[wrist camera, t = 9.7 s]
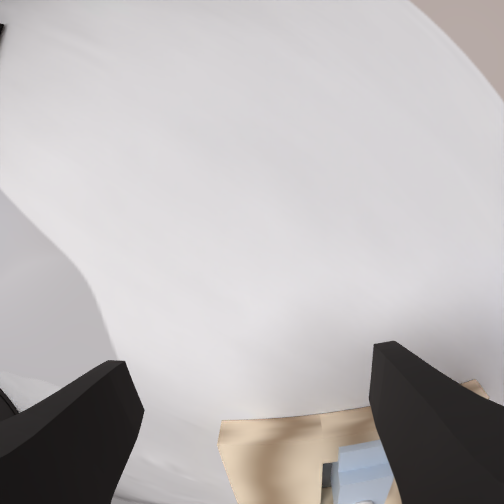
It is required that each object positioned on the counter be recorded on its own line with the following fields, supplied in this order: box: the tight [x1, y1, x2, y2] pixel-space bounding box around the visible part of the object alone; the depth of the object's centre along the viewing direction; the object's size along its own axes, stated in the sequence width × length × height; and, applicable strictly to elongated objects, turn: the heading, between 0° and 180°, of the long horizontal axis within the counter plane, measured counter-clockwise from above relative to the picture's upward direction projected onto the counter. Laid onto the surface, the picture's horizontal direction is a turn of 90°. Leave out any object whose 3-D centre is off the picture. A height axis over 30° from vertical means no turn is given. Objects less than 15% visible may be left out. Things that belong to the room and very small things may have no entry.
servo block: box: [331, 440, 394, 504], centre depth 19 cm, size 4×11×5 cm, turn 8°
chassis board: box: [217, 379, 489, 504], centre depth 20 cm, size 20×14×2 cm
